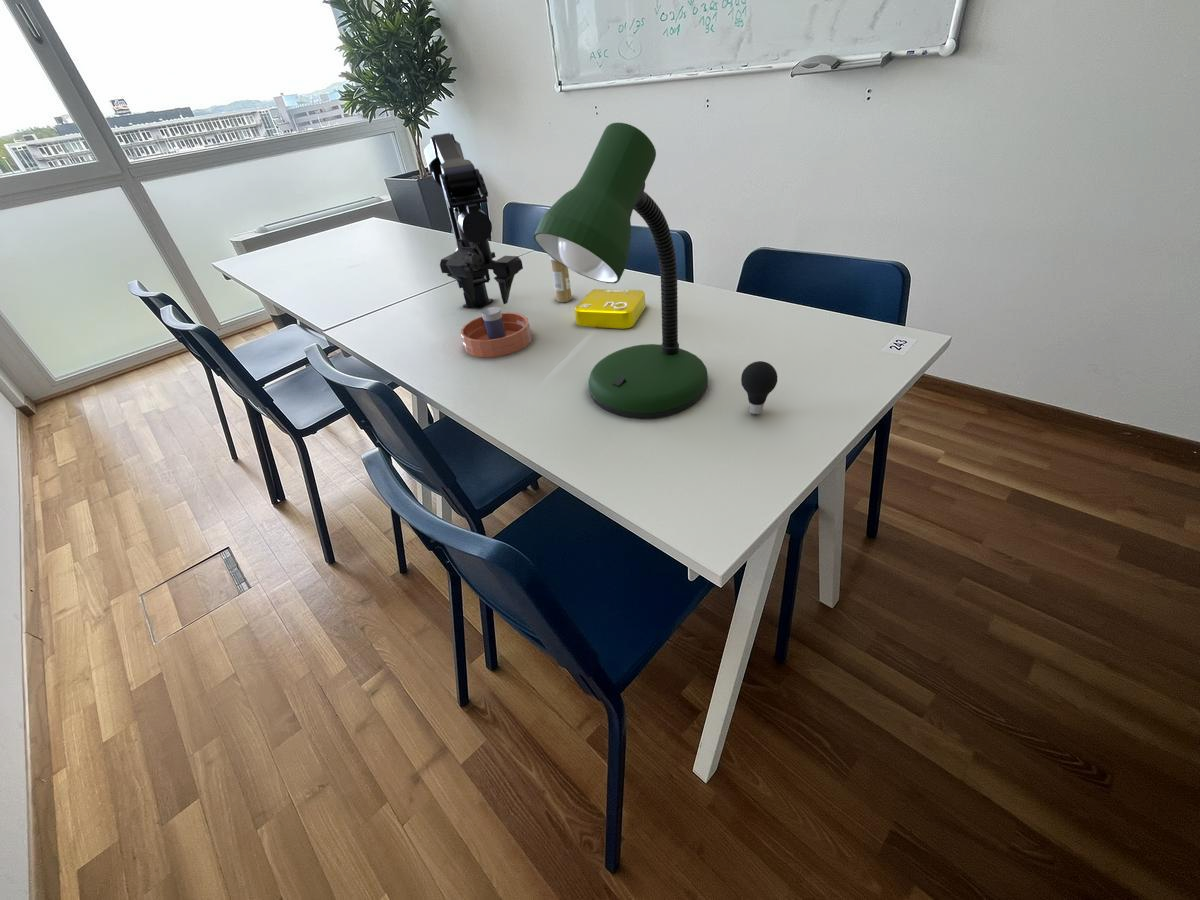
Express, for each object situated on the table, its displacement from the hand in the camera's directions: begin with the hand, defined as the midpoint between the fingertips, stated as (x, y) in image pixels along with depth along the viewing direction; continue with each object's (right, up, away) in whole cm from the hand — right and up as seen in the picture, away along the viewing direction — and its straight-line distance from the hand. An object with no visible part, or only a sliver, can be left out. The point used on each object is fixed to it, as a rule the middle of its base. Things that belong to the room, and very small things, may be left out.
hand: (489, 302), depth 119 cm
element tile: (+29, 0, +13) cm, 32 cm away
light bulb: (+53, -28, -28) cm, 66 cm away
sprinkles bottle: (+16, +8, +25) cm, 31 cm away
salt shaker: (+1, -8, +6) cm, 10 cm away
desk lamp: (+32, -24, -19) cm, 45 cm away
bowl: (+1, -8, +6) cm, 10 cm away
